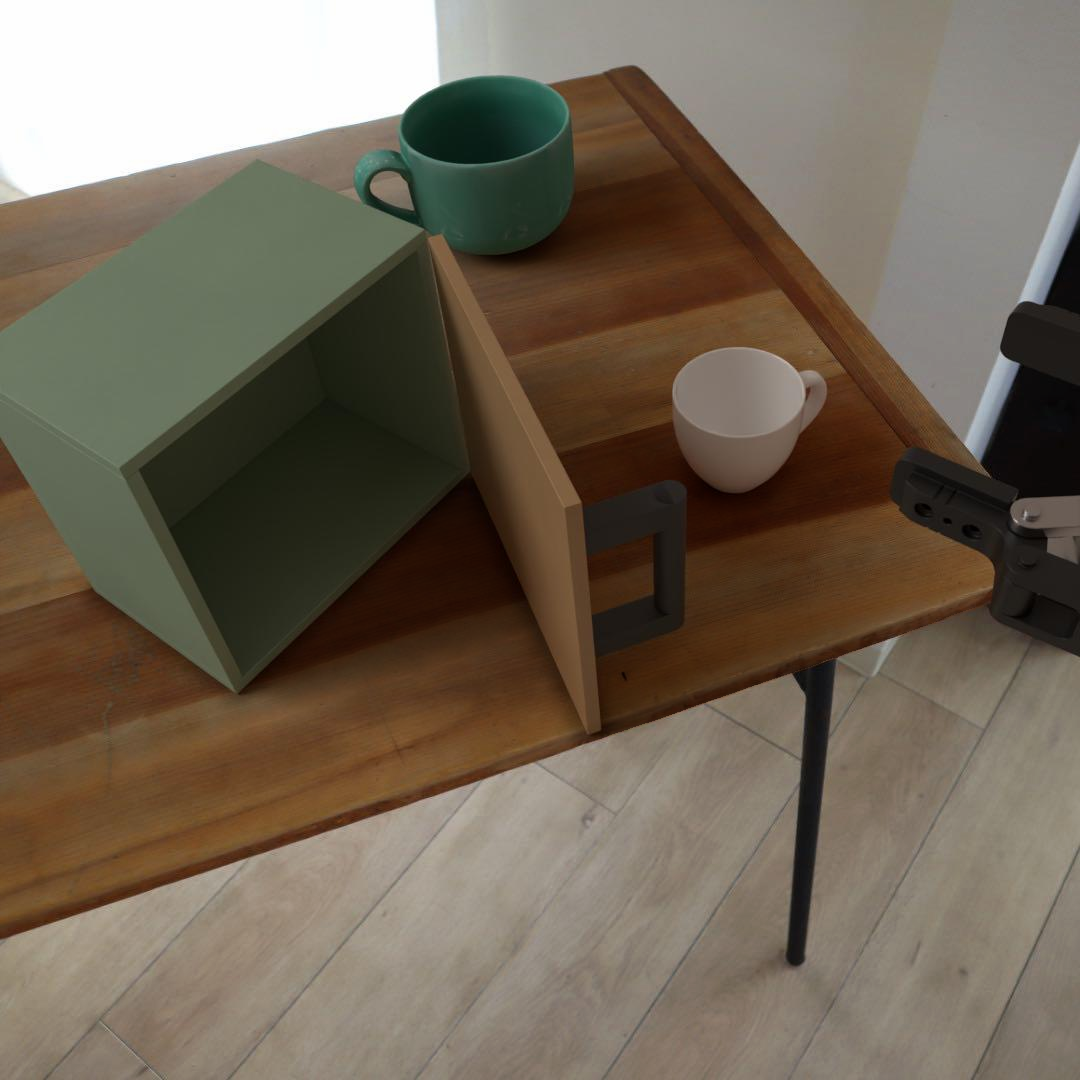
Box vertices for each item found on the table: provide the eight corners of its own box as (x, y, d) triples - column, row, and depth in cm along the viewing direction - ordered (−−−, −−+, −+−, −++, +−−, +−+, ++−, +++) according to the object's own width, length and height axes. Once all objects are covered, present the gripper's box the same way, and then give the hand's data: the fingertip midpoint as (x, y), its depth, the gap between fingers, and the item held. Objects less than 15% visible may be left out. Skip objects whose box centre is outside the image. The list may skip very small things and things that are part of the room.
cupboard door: (568, 445, 76) (546, 203, 63) (701, 694, 64) (710, 460, 50) (472, 475, 75) (427, 237, 61) (587, 735, 63) (564, 508, 49)
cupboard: (471, 471, 76) (425, 228, 62) (237, 694, 66) (119, 468, 52) (328, 396, 82) (257, 158, 68) (94, 591, 72) (-47, 362, 58)
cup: (650, 451, 76) (649, 372, 71) (785, 399, 78) (794, 319, 73) (709, 532, 71) (712, 454, 66) (852, 475, 73) (866, 395, 68)
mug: (556, 168, 97) (547, 59, 90) (597, 256, 89) (590, 144, 82) (359, 210, 96) (334, 103, 89) (383, 304, 88) (357, 194, 81)
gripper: (1366, 862, 33) (840, 598, 40) (1487, 535, 39) (1018, 360, 47) (1515, 721, 27) (868, 442, 34) (1627, 366, 34) (1067, 196, 41)
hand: (955, 395), depth 40 cm, fingers open, 8 cm apart
